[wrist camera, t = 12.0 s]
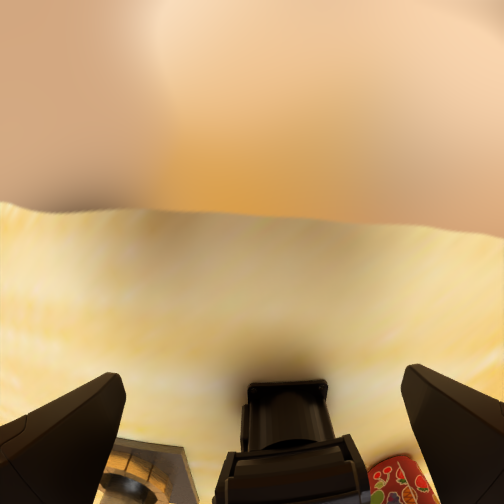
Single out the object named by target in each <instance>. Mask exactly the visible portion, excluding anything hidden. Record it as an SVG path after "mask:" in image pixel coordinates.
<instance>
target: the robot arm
mask: <svg viewBox="0 0 504 504" xmlns="http://www.w3.org/2000/svg"><path fill="white" fill-rule="evenodd" d="M321 385H324V386H323V387H320V386H321ZM253 388H254V389H256V390H252V389H253ZM327 390H328V385H327V382H326V381H324V380H317V381H301V382H280V383H252V384H249V386H248V404H245V405H243V406H242V419H241V435H240V442H241V452H239V453H236V452H228V454H227V457H226V460H225V461H224V464H223V467H222V470H221V473H220V476H219V479H218V483H217V486H216V489H215V496H214V497H213V499H212V504H370V502H371V492H370V484H369V478H368V474H367V470H366V467H365V464H364V462H363V460H362V458H361V456H360V454H359V452H358V450H357V448H356V446H355V443H354V441H353V439H352V437H351V435H350V434H347V435H342V437H339V438H335V435H334V431H333V427H332V424H331V420H330V416H329V413H328V409H327V405H326V397H327ZM401 393H402V397H403V400H404V403H405V406H406V410H407V413H408V417H409V420H410V424H411V427H412V430H413V432H414V435H415V437H416V440H417V442H418V444H419V447H420V449H421V452H422V454H423V457H424V459H425V462H426V464H427V467H428V470H429V472H430V475H431V477H432V480H433V483H434V485H435V488H436V491H437V494H438V496H439V499H440V502H441V504H504V403H503V402H501V401H500V402H499V400H497V399H494V398H492V397H490V396H488V395H485V394H483V393H481V392H479V391H477V390H474V389H472V388H470V387H468V386H466V385H464V384H461V383H459V382H457V381H455V380H453V379H451V378H448V377H446V376H444V375H442V374H440V373H438V372H436V371H433V370H431V369H429V368H427V367H425V366H423V365H421V364H412V365H408V366H407V367H406V369H405V373H404V376H403V380H402V384H401ZM125 402H126V392H125V389H124V386H123V383H122V379H121V377H120V375H119V374H118V373H111V372H107V373H105V374H103V375H101V376H99V377H97V378H95V379H94V380H92V381H90V382H88V383H86V384H84V385H82V386H80V387H79V388H77V389H75V390H73V391H71V392H69V393H67V394H65V395H63V396H61V397H59V398H58V399H56V400H54V401H52V402H50V403H48V404H46V405H44V406H42V407H40V408H38V409H36V410H34V411H32V412H30V413H28V415H24V416H22V417H20V418H18V419H16V420H14V421H12V422H9V423H7V424H5V425H2V426H0V504H93V502H94V499H95V496H96V493H97V490H98V487H99V484H100V481H101V478H102V475H103V473H104V470H105V467H106V464H107V462H108V459H109V456H110V453H111V451H112V448H113V445H114V443H115V440H116V437H117V433H118V429H119V425H120V421H121V417H122V413H123V409H124V405H125Z"/></svg>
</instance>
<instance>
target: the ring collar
mask: <svg viewBox="0 0 504 504" xmlns="http://www.w3.org/2000/svg"><path fill="white" fill-rule="evenodd" d="M113 473H114V474H118V475H122V476H126V477H128V478H130V479H133V480H135V481H137V482H139V483H142V484H143V485H145V486H146V487H147V488H149V491H148V494H147V497H146V501H145V504H169V503H174V504H199V498H198V495H197V492H196V489H195V486H194V482H193V479H192V476H191V473H190V469H189V466H188V463H187V459H186V456H185V452H184V449H183V447H174V446H165V445H157V444H150V443H144V442H137V441H131V440H126V439H121V438H116V440H115V443H114V445H113V448H112V451H111V453H110V456H109V459H108V462H107V464H106V467H105V470H104V473H103V475H102V478H101V481H100V484H99V487H98V489H99V490H100V491H102V492H103V493H104V492H105V490H106V487H107V485H108V483H109V481H110V478H111V476H112V474H113Z"/></svg>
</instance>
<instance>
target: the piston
mask: <svg viewBox="0 0 504 504" xmlns="http://www.w3.org/2000/svg"><path fill="white" fill-rule="evenodd" d="M148 491H149V488H147V487H146V486H145V485H143V484H142V483H139V482H137V481H135V480H133V479H130V478H128V477H126V476H122V475H118V474H114V473H113V474H112V476H111V478H110V481H109V483H108V485H107V487H106V490H105V492H104V494H103V497H102V499H101V501H100V504H145V501H146V497H147V494H148Z"/></svg>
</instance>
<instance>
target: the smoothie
mask: <svg viewBox="0 0 504 504" xmlns="http://www.w3.org/2000/svg"><path fill="white" fill-rule="evenodd" d="M368 478H369V484H370V492H371V502H370V504H440V503H439V501H438V500H437V498H436V496H435V494H434V492H433V491H432V489H431V487H430V485H429V483H428V482H427V480H426V478H425V476H424V475H423V473H422V471H421V469H420V468H419V466H418V464H417V462H415V461H413V460H411V459H410V458H409V457H407V456H397V457H392V458H390V459H387V460H385V461H383V462H381V463H379V464H377V465H376V466H375V467H373V468H372V469H371V470H370V471H369V473H368Z"/></svg>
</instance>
